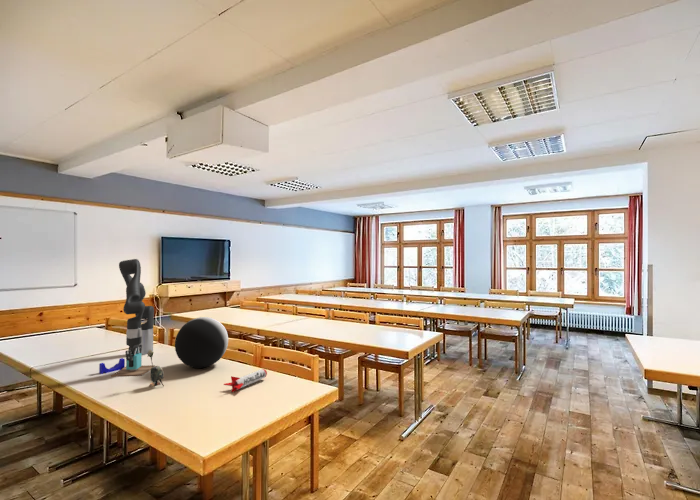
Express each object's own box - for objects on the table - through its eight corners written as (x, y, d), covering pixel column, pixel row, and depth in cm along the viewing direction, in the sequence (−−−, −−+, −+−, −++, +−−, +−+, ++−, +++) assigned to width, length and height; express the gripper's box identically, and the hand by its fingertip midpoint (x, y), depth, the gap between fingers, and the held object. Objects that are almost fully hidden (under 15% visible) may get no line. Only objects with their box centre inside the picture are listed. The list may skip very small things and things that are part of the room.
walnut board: (126, 368, 207) (126, 366, 207) (154, 367, 209) (154, 365, 209) (111, 377, 191) (111, 375, 191) (141, 376, 193) (141, 374, 193)
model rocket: (272, 383, 185) (273, 364, 185) (238, 399, 165) (238, 378, 165) (258, 379, 190) (258, 361, 190) (223, 394, 170) (223, 374, 170)
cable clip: (120, 367, 208) (121, 357, 208) (124, 369, 206) (124, 359, 206) (98, 373, 198) (98, 363, 198) (101, 375, 196) (101, 364, 196)
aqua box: (131, 366, 203) (131, 353, 203) (141, 366, 203) (141, 353, 203) (126, 369, 197) (126, 356, 197) (136, 369, 198) (136, 356, 198)
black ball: (236, 359, 224) (236, 313, 224) (213, 376, 194) (213, 323, 194) (192, 358, 227) (192, 312, 227) (163, 374, 197) (163, 321, 197)
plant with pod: (152, 393, 170) (152, 353, 170) (143, 387, 177) (143, 349, 177) (169, 388, 176) (169, 349, 176) (159, 383, 184) (160, 345, 184)
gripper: (133, 333, 207) (133, 361, 207) (120, 339, 193) (120, 369, 193) (146, 333, 208) (146, 361, 208) (134, 339, 193) (134, 369, 193)
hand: (133, 365), depth 200 cm, fingers closed on aqua box, 5 cm apart
